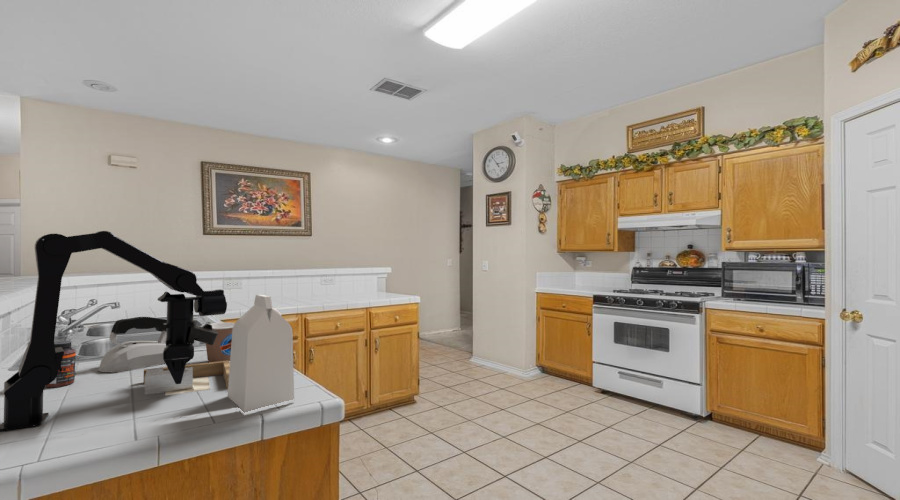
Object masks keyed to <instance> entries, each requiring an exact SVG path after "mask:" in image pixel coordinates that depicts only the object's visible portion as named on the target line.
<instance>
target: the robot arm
mask: <svg viewBox="0 0 900 500" xmlns="http://www.w3.org/2000/svg"><path fill="white" fill-rule="evenodd" d="M98 249H102V250H104V251H106V252H108V253H111V254H112V255H114V256H116V257H118V258H120V259H122V260H123V261H125V262H128V264H129V263H130V264H132V265H133V266H135V267H137V268H138V269H141V270H143V271H145V272H147V273H149V274H151V276H153V277H154V278H155V279H156V280H158V281H159V282H160V283H161V284H163V285H164V286H166V287H167V288H168V289H169V290H172V291H175V292H179V293H175V294H174V293H173V294H171V293H170V292H169V291H164V292H163V294H162V295H160V296H159V297H158V298H157V301H159V302H160V303H166V320H167V324H166V328H167V333H166V348H164V351H163V360H164V362H165V363H164V364H165V365H166V367H168V369H169V371H170V373H171V375H172V377H173V379H174V382H175V384H181V382H182V378H183V374H184V370H185V366H186V365H187V363H189V362H190V361H191V360H193V359H194V356H195V348H194V347H195V346H194V343H195V341H197V342H200V343H204V344H206V343H207V344H209V345H213V344H214V342H215V340H216V337H217V335H218V332H217V331H216V330H212V325H210V324H211V323H205V324H204V325H202V326H198V325H195V321H194V312H195V313H197V314H198V315H199V316H200V317H207V316H209V317H210V316H217V315H220V316H221V315H225V313H226V312H227V306H228V302H227V300H226V299H227V298H226V296H225V291H224V289H221V288H220V289H214V290H204V289H203V288H202V286H200V285H199V283H197V276H196V274H195V273H194V272H193V271H191V270H189V269H185V268H182V267H180V266H178V265H174V264H171V263H168V262H165V261H162V260H160V259H159V258H157V257H154V255H151V254H149V253H148V252H146V251H144V250H142V249H140V248H139V247H136V246H135V245H132V244H130V242H127V241H125V240H124V239H121V238H120V237H118V236H116V235H115V234H114V233H113V232H111V231H108V230H102V231H97V232H93V233H85V234H79V235H69V236H66V235H63V234H60V233H48V234H44V235H42V236H41V237H39V238H38V239H36V241H35V243H34V255H35V263H36V269H37V276H38V277H37V285H36V291H35V297H34V298H35V300H34V307H33V314H32V323H31V331H30V336H29V337H30V338H29V339H30V340H29V341H28V343H27V346H26V348H25V351H24V354H23V357H22V358H21V362H20V364H19V368H18V371H17V372H16V373H14V374H13V375H12V376H11V377H9V378H8V379H7V380H5V381H4V382H3V383H4V384H3V387H4V388H3V394H4V396H3V399H4V400H3V422H2V423H1V424H0V432H4V431H5V432H6V431H11V430H17V429H23V428H30V427H39V426H41V425H42V424H43V423H44V422H45V420H46V419H47V418H48V416H49V412H44V391H45V388H46V385H48V384H50V383H51V382H52V381H53V380H55V378H56V377H57V374H58V370H59V371H62V368H61V361H62V358H63V355H64V351H63V349H62V347H58V348H55V345H54V342H55V338H56V337H55V336H56V329H57V319H58V311H59V303H60V295H61V287H62V279H63V276H64V273H65V271H66V270H67V269H66V268H67V267H68V264H69V262H70V260H71V255H72V254H74V253H81V252H86V251H93V250H98ZM185 293H186V294H189V295H192V296H186V295H185ZM170 344H171V345H170Z"/></svg>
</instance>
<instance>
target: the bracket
mask: <svg viewBox="0 0 900 500" xmlns="http://www.w3.org/2000/svg"><path fill="white" fill-rule="evenodd" d="M164 367H165V366H163V367H162V366H161V367H155V368H146V369H147V371H146V374H145V384H144V396H148V395H155V394H162V393H163V394H164V393H166V392H169V391H176V390H182V389H189V388H193V379H194V378H193V367H190V368H185V370H184V374H183V378H182V382H181V384H175V382H174V379H173V377H172V375H171V373H170V371H169V370H167V371H164Z"/></svg>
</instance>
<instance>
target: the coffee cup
mask: <svg viewBox="0 0 900 500" xmlns="http://www.w3.org/2000/svg"><path fill="white" fill-rule="evenodd" d="M235 323H236V322H214V323H209V324H210V325H212V330H216V331H217V332H218V335H217V337H216V340H215V342H214V344H213V345H209V344H207V343H205V347H206V350H205V351H206V357H207V363H208V362H218V361H227V360H229V361H230V356H231V343H232V330H233V326H234V324H235Z"/></svg>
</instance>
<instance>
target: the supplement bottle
mask: <svg viewBox="0 0 900 500" xmlns="http://www.w3.org/2000/svg"><path fill="white" fill-rule="evenodd" d="M54 345H55V348H58V347H62V349H63V351H64V355H63V358H62V361H61V368H62V371H59V370H58V374H57V377H56V378H55V380H53V381H52V382H51V383H50V384H48V385H46V386H45V388H59V387H60V388H61V387H66V386H70V385H72V384H73V383H75V381H76V380H75V379H76V378H75V377H76V357H77V355H76V354H77V353H76V350H75V349H74V348H72V341H71V340H60V341H54Z"/></svg>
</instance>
